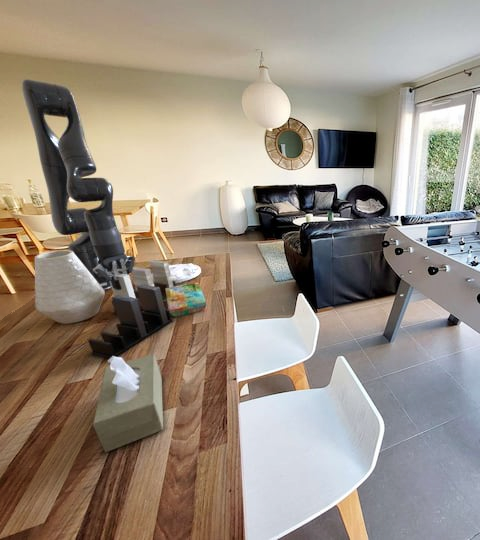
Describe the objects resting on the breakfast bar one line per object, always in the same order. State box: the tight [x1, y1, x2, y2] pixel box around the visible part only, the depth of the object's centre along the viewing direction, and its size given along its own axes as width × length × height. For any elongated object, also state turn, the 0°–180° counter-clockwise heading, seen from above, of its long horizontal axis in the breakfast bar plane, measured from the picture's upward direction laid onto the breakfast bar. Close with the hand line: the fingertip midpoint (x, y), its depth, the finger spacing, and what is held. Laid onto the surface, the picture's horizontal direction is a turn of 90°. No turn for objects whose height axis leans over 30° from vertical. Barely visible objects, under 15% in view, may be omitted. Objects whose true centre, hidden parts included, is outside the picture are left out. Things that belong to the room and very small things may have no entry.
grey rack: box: [87, 284, 174, 360], centre depth 89 cm, size 21×8×14 cm, turn 166°
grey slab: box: [111, 259, 177, 315], centre depth 109 cm, size 21×8×14 cm, turn 166°
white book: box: [110, 273, 136, 298], centre depth 102 cm, size 2×7×13 cm, turn 76°
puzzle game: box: [165, 281, 207, 318], centre depth 111 cm, size 12×5×20 cm
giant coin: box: [151, 262, 202, 285], centre depth 134 cm, size 20×20×3 cm
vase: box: [34, 249, 106, 325], centre depth 97 cm, size 18×17×23 cm
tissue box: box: [92, 353, 164, 453], centre depth 64 cm, size 19×10×16 cm, turn 33°
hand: (121, 287), depth 101 cm, fingers closed on white book, 2 cm apart
